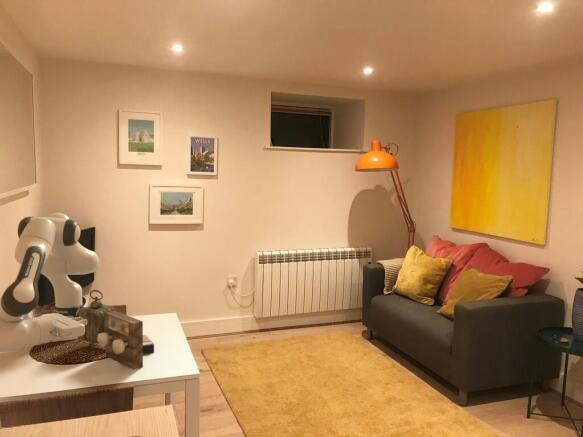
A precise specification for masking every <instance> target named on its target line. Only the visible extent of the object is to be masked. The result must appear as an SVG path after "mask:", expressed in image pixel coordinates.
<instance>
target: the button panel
mask: <svg viewBox="0 0 583 437" xmlns="http://www.w3.org/2000/svg"><path fill="white" fill-rule="evenodd" d="M143 327H144V325H143V320H140V319H137V318H135V317H133V316H129V315H127V314H124V313H122V312H118V311H116V310H115V311H111V312H107V313H105V332H106V333H107V334H108V336H111V335H113V339H110V340H109V344H108V345H107V346H105V357H106V356H107V357H106V358H108V357H109V359H110V360H112V361H114V362H117V363H118V364H121V365H122V366H124V367H127V368H129V369H131V370H133V371H135V370H137V369H140V368H143V367H144V366H143V364H144V354H143V335H144V332H143V330H144V329H143ZM117 339H122V340H123V342H124V343H125V342H129V345H128V346H125V350H124V352H123V353H119V354H116V353H115V352H114V351H113V347H112V344H113V341H114V340H117Z"/></svg>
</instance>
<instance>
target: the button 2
mask: <svg viewBox="0 0 583 437" xmlns="http://www.w3.org/2000/svg"><path fill="white" fill-rule="evenodd" d="M128 345H129V342H125V343H124V342H123V340H122V339H117V340H114V341H113V344H112V347H113V351H114V352H115V353H116V354H119V353H123V352H124V350H125V346H128Z"/></svg>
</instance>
